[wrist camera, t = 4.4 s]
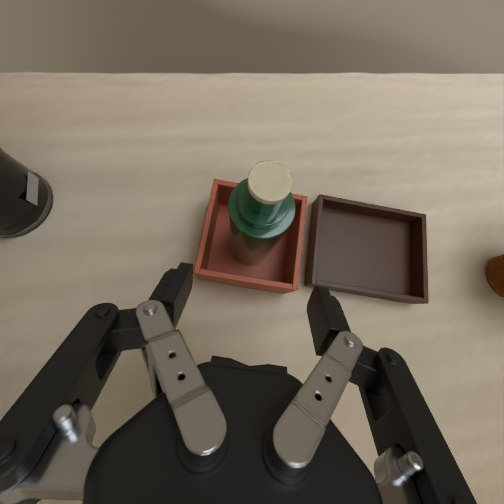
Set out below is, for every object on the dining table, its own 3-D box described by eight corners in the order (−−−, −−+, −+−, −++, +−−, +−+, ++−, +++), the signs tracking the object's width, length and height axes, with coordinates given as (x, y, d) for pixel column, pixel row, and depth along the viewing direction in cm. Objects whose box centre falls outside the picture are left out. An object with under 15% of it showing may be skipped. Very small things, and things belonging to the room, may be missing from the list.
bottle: (220, 245, 31) (210, 179, 15) (249, 217, 32) (267, 128, 16) (251, 274, 30) (274, 237, 14) (279, 244, 32) (328, 180, 16)
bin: (200, 279, 30) (193, 273, 24) (216, 201, 33) (214, 178, 27) (285, 293, 31) (297, 290, 25) (294, 215, 33) (307, 196, 28)
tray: (304, 285, 31) (311, 283, 29) (312, 202, 34) (319, 194, 32) (412, 303, 32) (428, 303, 29) (411, 221, 35) (426, 214, 32)
